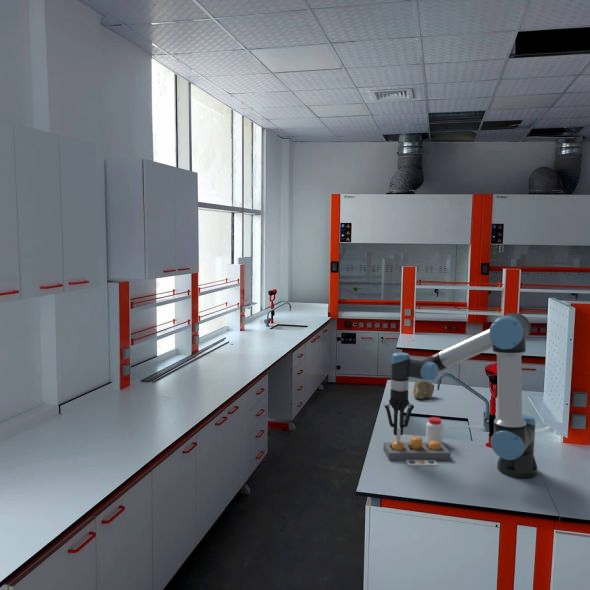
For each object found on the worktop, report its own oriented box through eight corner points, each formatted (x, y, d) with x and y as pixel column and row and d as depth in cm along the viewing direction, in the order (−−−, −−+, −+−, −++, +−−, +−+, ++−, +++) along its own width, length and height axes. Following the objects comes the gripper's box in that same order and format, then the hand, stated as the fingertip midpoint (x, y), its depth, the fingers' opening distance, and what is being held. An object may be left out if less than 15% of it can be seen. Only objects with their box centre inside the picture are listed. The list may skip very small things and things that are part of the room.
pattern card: (434, 460, 234) (434, 459, 234) (437, 465, 229) (437, 464, 229) (405, 460, 233) (405, 459, 233) (408, 465, 228) (408, 464, 228)
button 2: (438, 450, 243) (438, 440, 243) (441, 454, 238) (442, 444, 238) (426, 450, 243) (427, 440, 243) (430, 455, 238) (430, 444, 238)
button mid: (420, 446, 243) (420, 436, 242) (423, 450, 238) (423, 440, 237) (408, 446, 243) (409, 436, 242) (411, 450, 238) (412, 440, 237)
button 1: (402, 450, 243) (402, 440, 242) (404, 455, 238) (404, 444, 237) (390, 450, 243) (390, 440, 242) (393, 455, 238) (393, 444, 237)
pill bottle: (430, 437, 260) (431, 415, 259) (445, 441, 255) (446, 418, 254) (422, 442, 254) (423, 419, 253) (438, 446, 249) (439, 423, 248)
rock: (410, 384, 332) (415, 379, 323) (431, 385, 332) (436, 380, 323) (411, 402, 327) (416, 397, 318) (432, 403, 328) (437, 399, 319)
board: (441, 448, 247) (441, 442, 247) (449, 459, 235) (450, 452, 235) (383, 449, 246) (383, 442, 246) (388, 459, 234) (388, 453, 234)
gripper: (412, 386, 241) (410, 439, 244) (382, 386, 241) (381, 439, 243) (416, 391, 234) (414, 445, 236) (386, 391, 233) (384, 445, 236)
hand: (397, 442), depth 240 cm, fingers closed
